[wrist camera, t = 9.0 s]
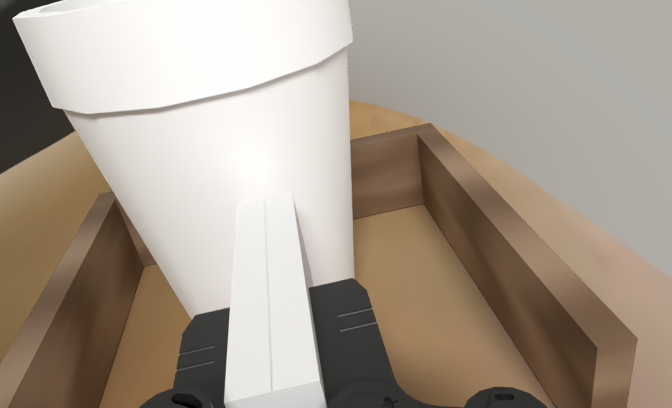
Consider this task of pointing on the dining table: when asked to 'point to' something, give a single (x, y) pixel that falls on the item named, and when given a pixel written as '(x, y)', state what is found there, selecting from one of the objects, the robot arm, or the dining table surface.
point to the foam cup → (208, 121)
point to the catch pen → (367, 199)
